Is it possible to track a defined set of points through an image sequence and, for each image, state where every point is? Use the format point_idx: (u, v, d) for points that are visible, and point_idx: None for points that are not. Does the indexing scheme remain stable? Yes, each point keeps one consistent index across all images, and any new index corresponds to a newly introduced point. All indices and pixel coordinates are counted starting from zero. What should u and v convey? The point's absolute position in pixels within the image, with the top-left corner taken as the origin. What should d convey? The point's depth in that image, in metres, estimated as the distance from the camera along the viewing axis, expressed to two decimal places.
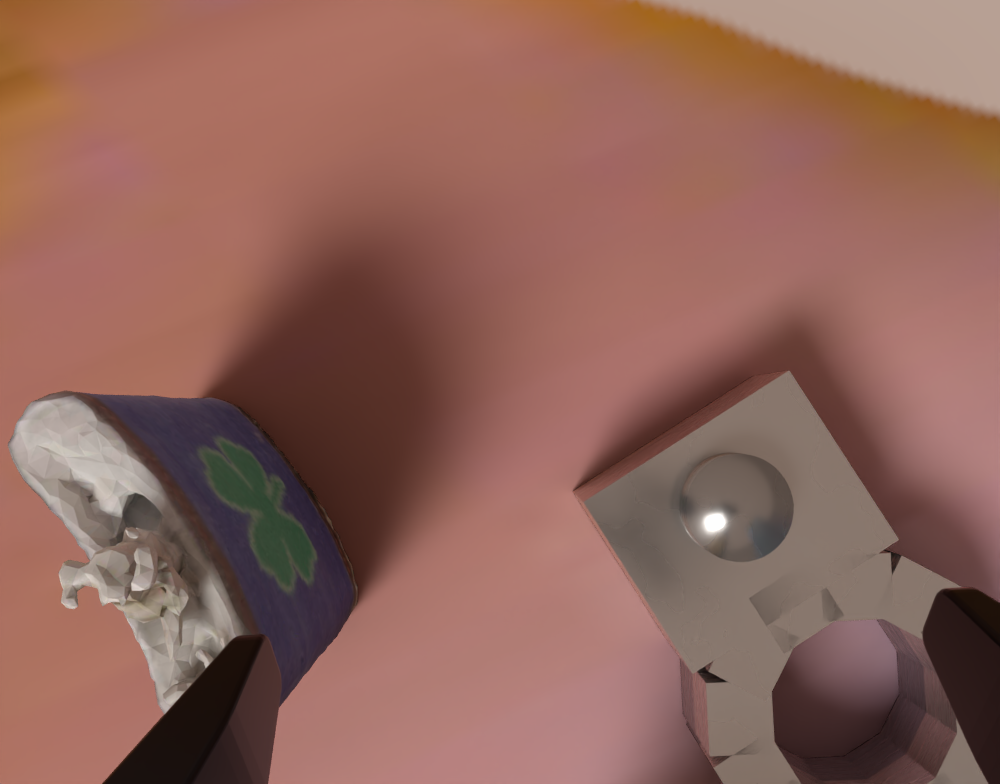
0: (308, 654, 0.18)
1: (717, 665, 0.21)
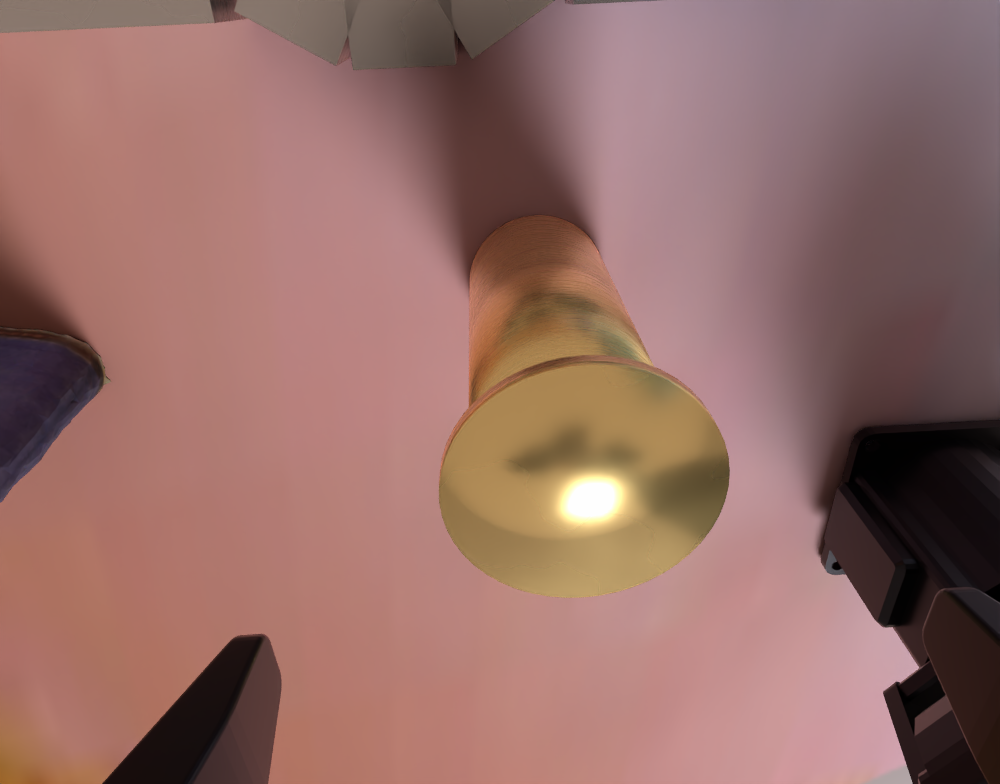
0: None
1: None
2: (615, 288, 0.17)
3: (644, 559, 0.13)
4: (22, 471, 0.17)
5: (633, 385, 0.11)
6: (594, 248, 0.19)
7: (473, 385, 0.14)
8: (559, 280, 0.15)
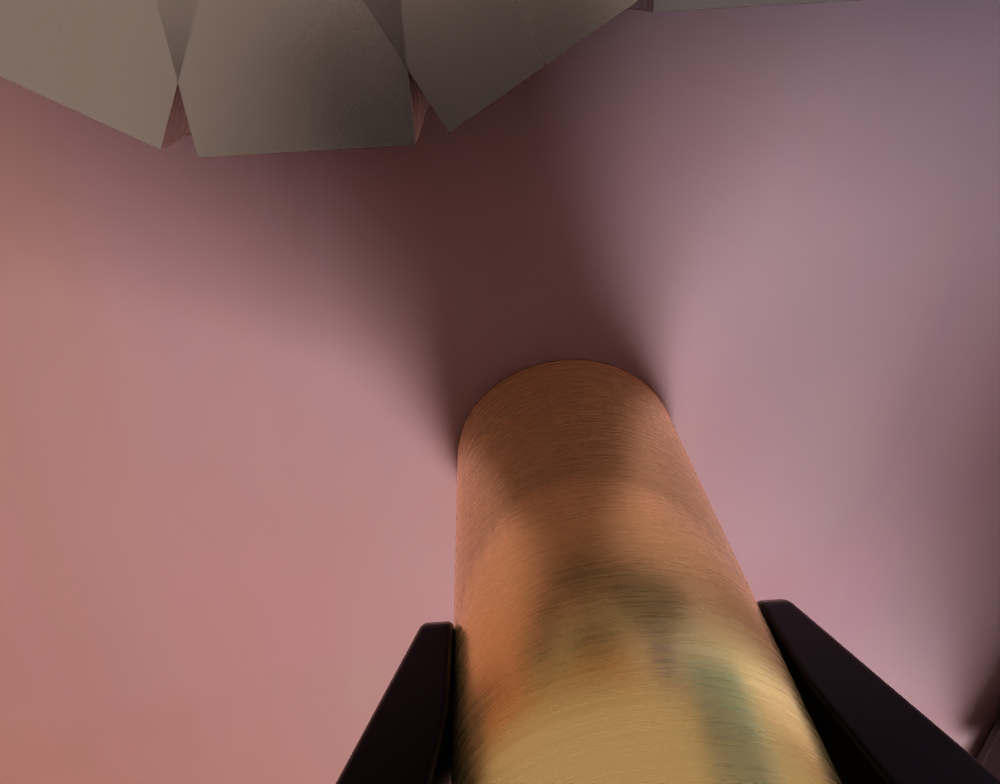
0: None
1: None
2: (721, 532, 0.09)
3: None
4: None
5: None
6: (666, 421, 0.11)
7: None
8: (633, 582, 0.07)
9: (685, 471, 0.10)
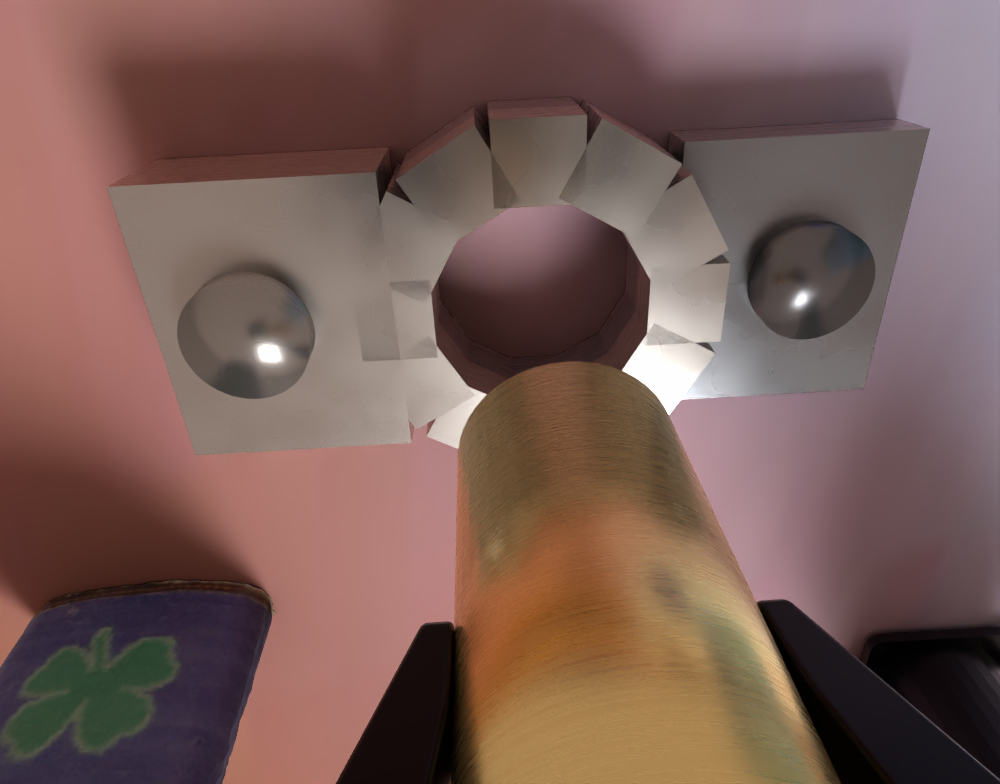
0: (207, 725, 0.22)
1: (414, 419, 0.19)
2: (722, 534, 0.09)
3: None
4: None
5: None
6: (667, 423, 0.11)
7: None
8: (635, 585, 0.07)
9: (686, 473, 0.10)
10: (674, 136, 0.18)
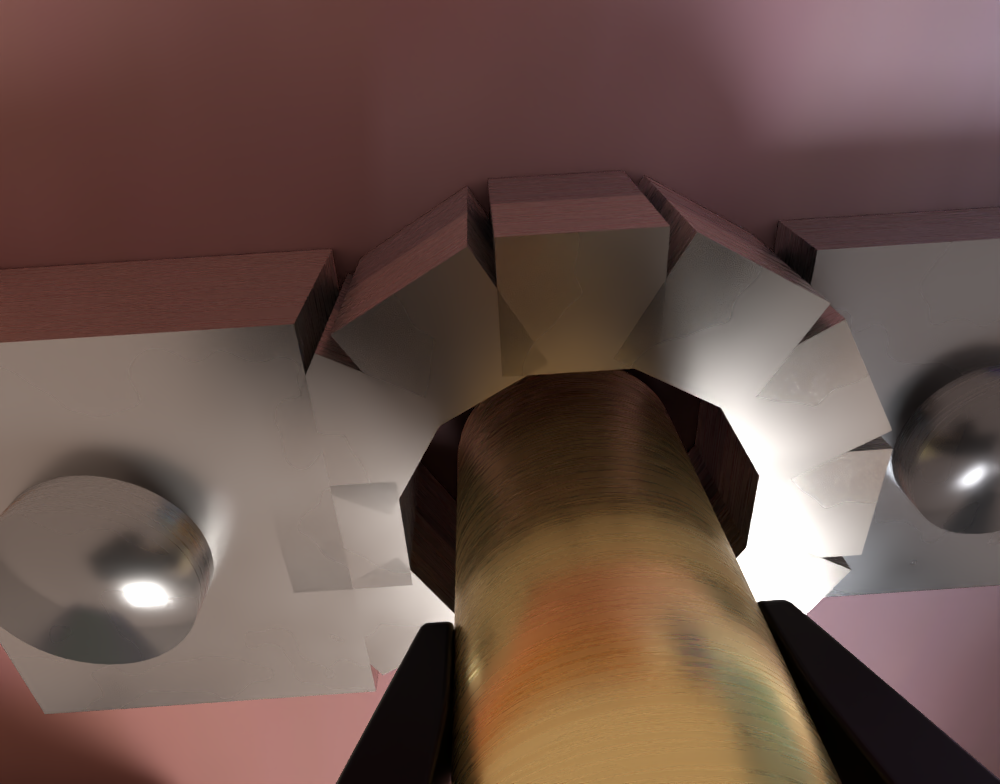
0: None
1: (379, 663, 0.13)
2: (722, 534, 0.09)
3: None
4: None
5: None
6: (667, 422, 0.11)
7: None
8: (635, 584, 0.07)
9: (686, 472, 0.10)
10: (790, 231, 0.11)
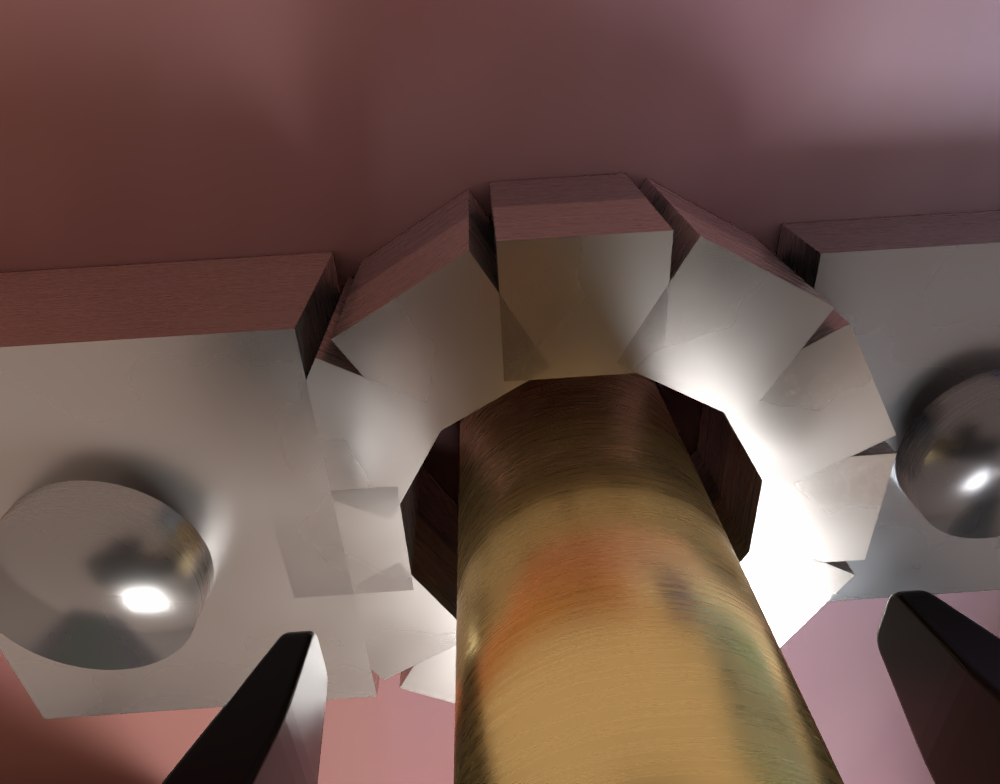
0: None
1: (380, 668, 0.12)
2: (702, 487, 0.10)
3: None
4: None
5: None
6: (654, 391, 0.12)
7: (461, 777, 0.07)
8: (619, 522, 0.08)
9: (670, 433, 0.11)
10: (793, 234, 0.11)
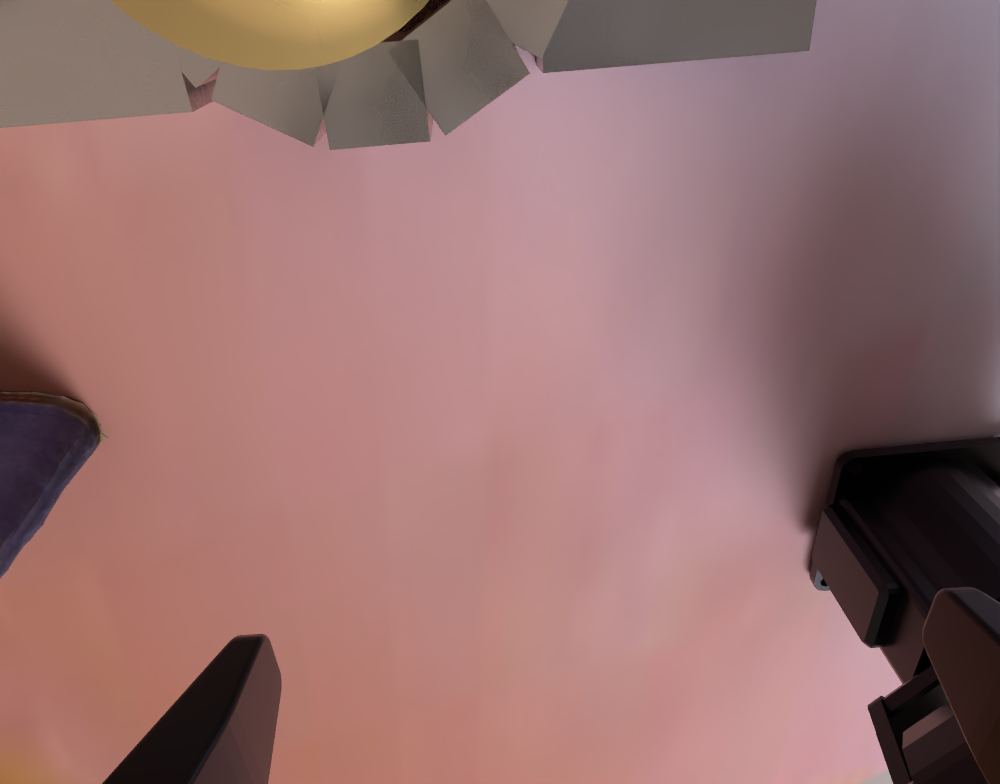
0: None
1: (189, 70, 0.14)
2: None
3: None
4: (25, 540, 0.18)
5: None
6: None
7: None
8: None
9: None
10: None
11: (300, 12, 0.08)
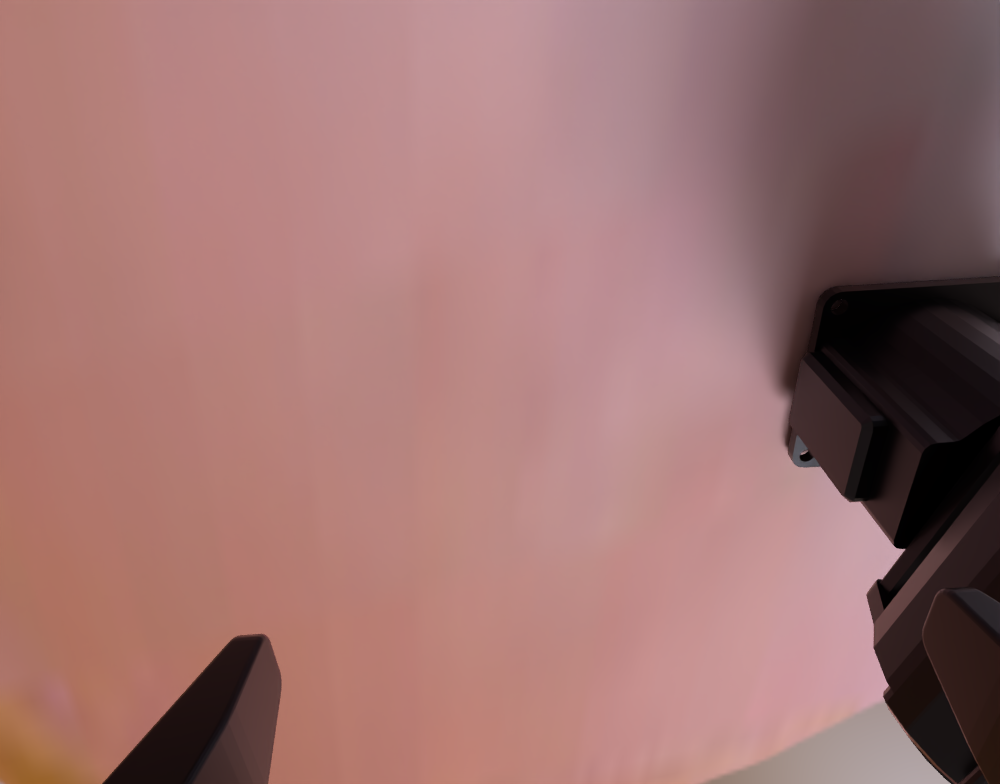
0: None
1: None
2: None
3: None
4: None
5: None
6: None
7: None
8: None
9: None
10: None
11: None
